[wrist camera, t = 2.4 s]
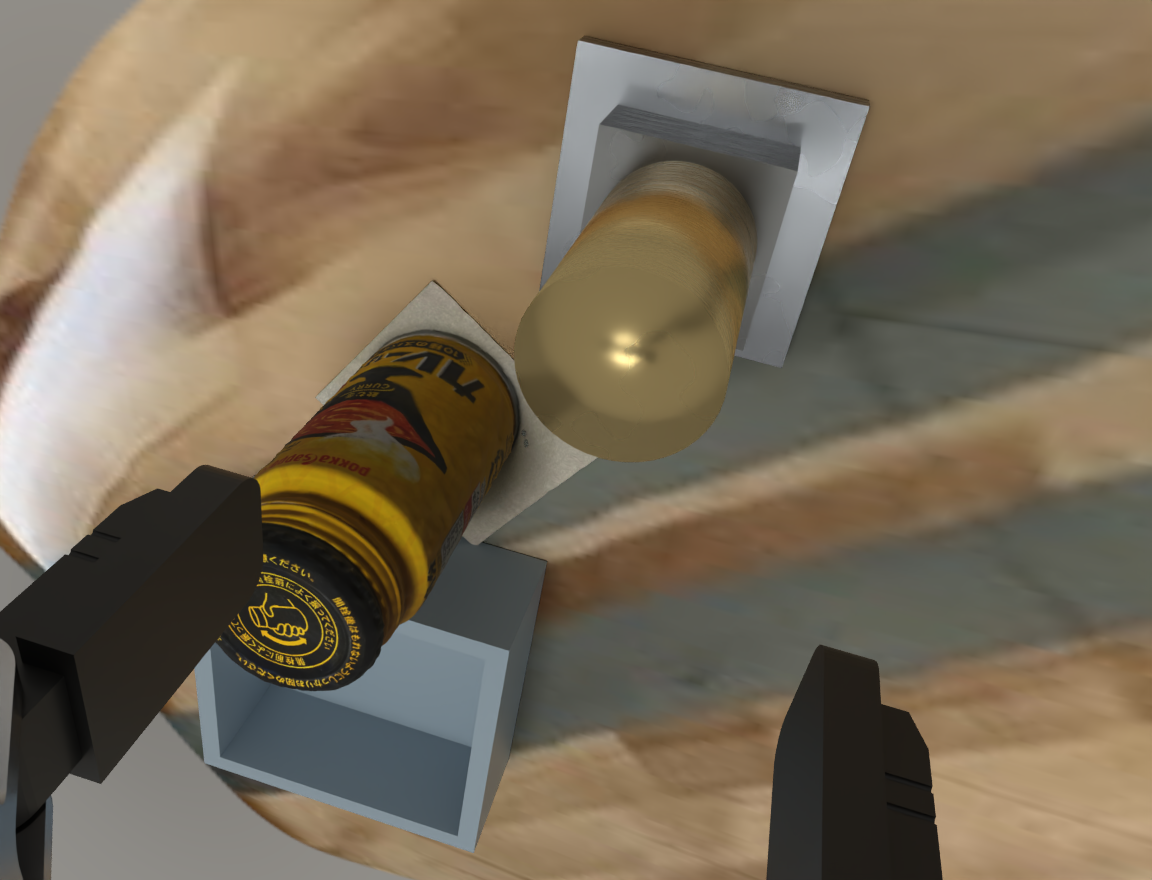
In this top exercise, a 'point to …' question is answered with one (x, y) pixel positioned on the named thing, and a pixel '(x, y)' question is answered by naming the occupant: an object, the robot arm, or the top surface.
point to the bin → (396, 708)
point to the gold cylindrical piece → (654, 285)
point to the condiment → (388, 494)
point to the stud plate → (733, 105)
